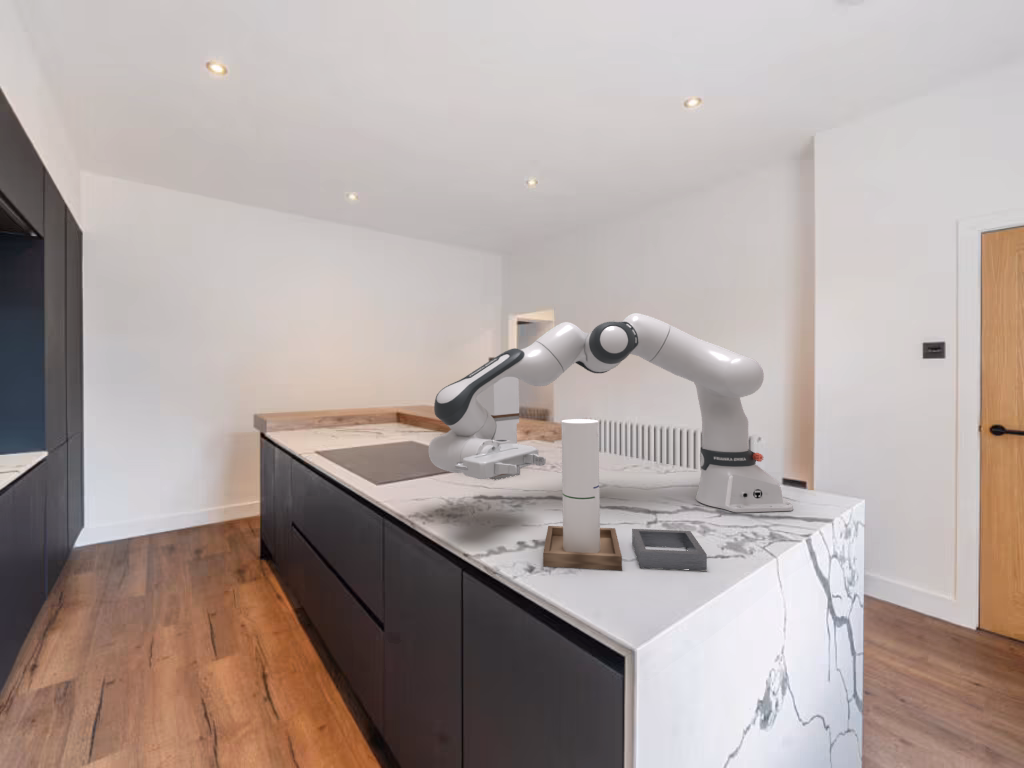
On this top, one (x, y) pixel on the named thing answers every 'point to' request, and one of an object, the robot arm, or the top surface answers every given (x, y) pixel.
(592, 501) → the cylindrical container
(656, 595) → the top surface
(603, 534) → the walnut tray
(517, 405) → the banded white pillar
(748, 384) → the robot arm
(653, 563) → the gray square tray
